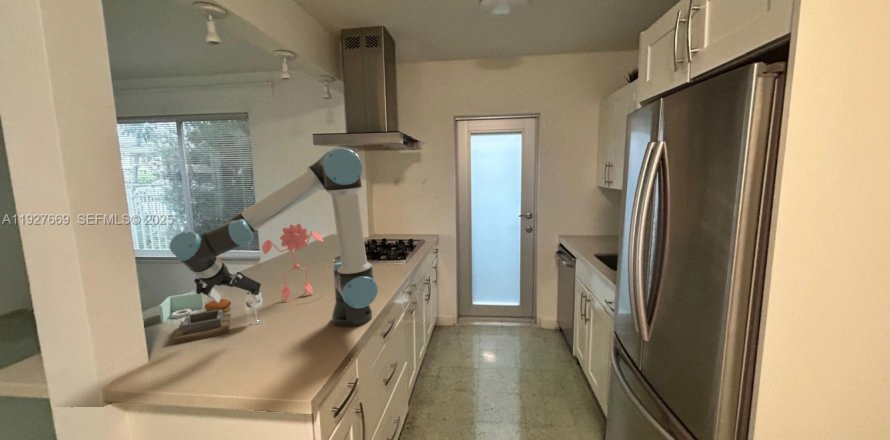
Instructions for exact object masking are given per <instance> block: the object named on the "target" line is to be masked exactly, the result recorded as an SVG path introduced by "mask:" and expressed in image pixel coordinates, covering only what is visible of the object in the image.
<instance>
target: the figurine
mask: <svg viewBox="0 0 890 440" xmlns="http://www.w3.org/2000/svg"><path fill="white" fill-rule="evenodd" d="M307 229H308V228H306V227H304V228H303V225H302V224H301V223H299V222H298V223H297V224H296V225H295V224H290V225H289V227H283V228H282V232H283V234H282V235H281V236H280V238H279V239H280V240H281V244H280V245H281V247H283V248H284V247H286V246H287V248H286V249H283V250H281V249H280V248H278V247H277V246H276V245H275V244H274V243H273V242H272V241H271V240H270V239H267V240H265V242H263V244H262V247H261V248H262V252H263V254H264V255H266V254H268V253H269V251H271V249H272V246H273V247H274V248H275V249H276V250H277V251H279V253H283V252H286V251H287V250H288V252H292V258H293V259H294V262H295V264H294V265H293V268H292V269H290V270H288V271H286V272H284V273H283V274H282V276H283V280H284V282H283V283H284V287H283V288H282V290H281V298H282V300H283V301H284V302H287V301H288V300H289V298H290V296H291V289H290V287H289V286H288V285H287V284H286V277H285V274H287V273H289V272H291V271H293V270H295V271H298V270H300V269H303V270H305V278H306V279H305V281H306V282H304V284H303V286H304V294H306V293H309V294H310V295H313V294H314V290H313V287H312V284H310V283H309V282H308V269H307V268H305V267H304V268H303V267H301V266H300V264H298V263H297V260H296V257H295V251H300V250H301V248H306V247H307V246H308V244H309V240H310V238H311V237H313V238H314V239H315V240H317V242H320V243H324V242H325V241H324V239H323V237H322V236H321V235H320V234H319V232H316V231H314V230H313V231H312V230H310V233H307V232H308V231H307ZM321 298H322V296H320V297H318V298H317V300H320V299H321ZM315 301H316V299H315V300H312V301H310V302H307V304H309V303H312V302H315ZM304 304H306V302H305V303H303V305H304ZM298 305H301V303H299V304H297V306H298Z"/></svg>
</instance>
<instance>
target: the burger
mask: <svg viewBox="0 0 890 440" xmlns="http://www.w3.org/2000/svg"><path fill="white" fill-rule="evenodd" d="M231 304H232V302H231V300H229V299H226V298H220V301H219V303H216V302H215V301H214V300H211V301H208V302H207V303H205V304H204V309H205V312H207V311H213V310H218V309H222V310H223V314H227V313H229V312H230V311H231Z"/></svg>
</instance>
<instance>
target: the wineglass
mask: <svg viewBox="0 0 890 440" xmlns="http://www.w3.org/2000/svg"><path fill="white" fill-rule="evenodd" d="M249 292H250V291H247V293H246V296H245V305H246V307H247V308H248V309H251V310H253V313H254V318H255V319H254V320H252V321H250V322H249V325H252V326H255V325H259V324H262V323H263V322H264V320H263V319H258V317H257V314H258V310H257V309H258V308H260V307H261V306H262V305H263V302H264V300H263V299H264V298H263V295H262V292H261V290H259V293H260V294H261V295H260V298H259V301H256V300H255V299H254V298H253V297H252V295H251V294H250V293H249Z"/></svg>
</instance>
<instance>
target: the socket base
mask: <svg viewBox="0 0 890 440" xmlns="http://www.w3.org/2000/svg"><path fill="white" fill-rule="evenodd" d="M206 311H207V310H206ZM206 311H202V312H197V313H191V314H190V315H187V316H186V317H184V320H183V321H181V322H180V324H179V326H178V327H177V330H176V333H175V334H174V335H173V336H174V337H173V344H174V345H176V344H177V345H178V344H182V343H186V342H192V341H196V340H200V339H205V338H210V337H215V336H220V335H224V334H228V333H230V329H231V328H230V325H231V319H232V316H231V315H232V314H231V312H226V313H223V310H222V309H218V310H213V311H207V312H206Z"/></svg>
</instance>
